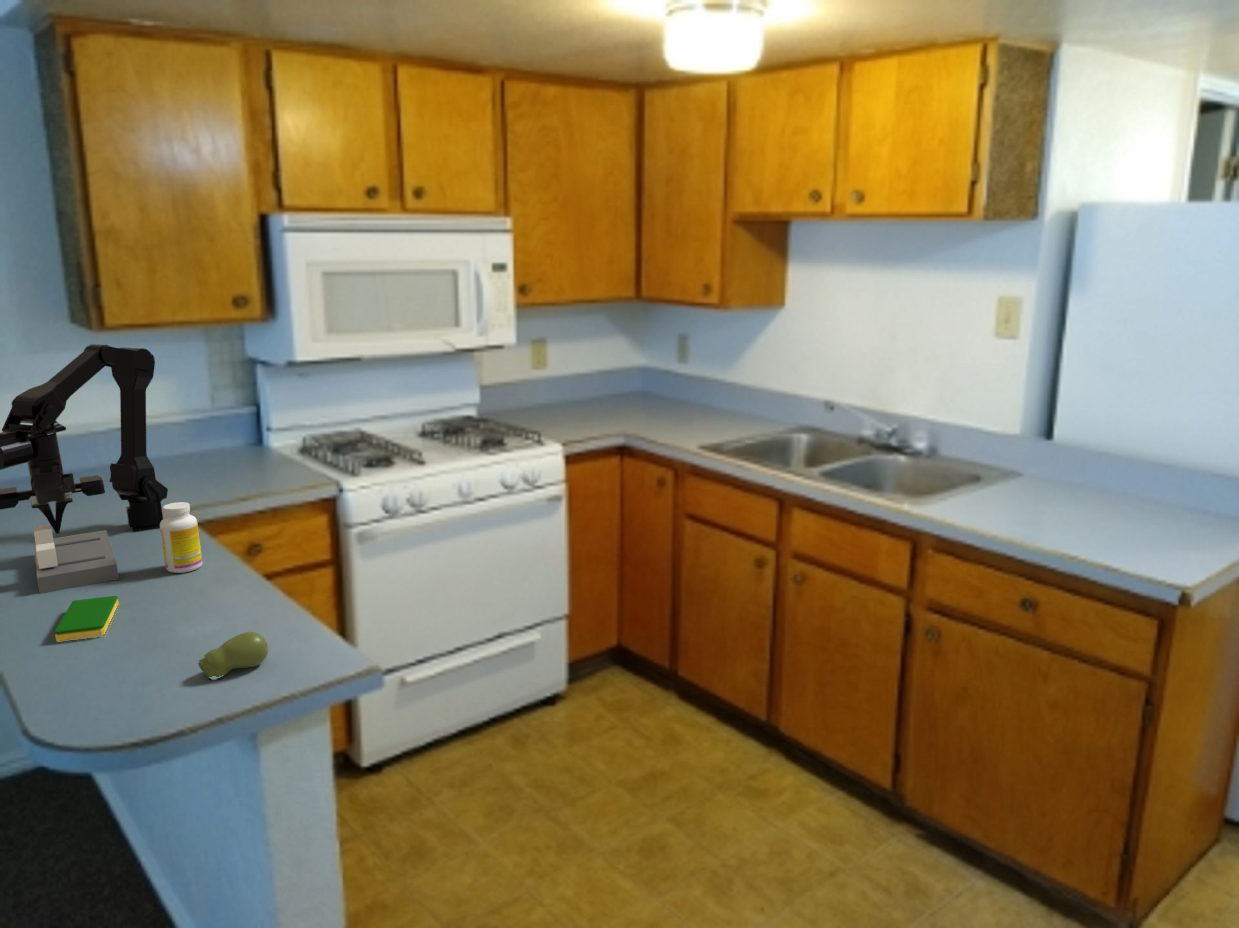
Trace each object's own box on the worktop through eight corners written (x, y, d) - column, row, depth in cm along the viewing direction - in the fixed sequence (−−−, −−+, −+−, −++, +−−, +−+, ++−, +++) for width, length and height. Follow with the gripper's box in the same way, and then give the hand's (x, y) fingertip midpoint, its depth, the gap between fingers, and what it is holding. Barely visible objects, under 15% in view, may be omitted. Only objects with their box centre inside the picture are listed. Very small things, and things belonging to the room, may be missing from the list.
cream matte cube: (53, 540, 192) (50, 524, 191) (54, 546, 189) (51, 529, 188) (36, 543, 190) (33, 526, 190) (36, 549, 187) (33, 532, 186)
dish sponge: (56, 645, 154) (53, 631, 153) (74, 612, 167) (72, 600, 166) (104, 639, 156) (102, 625, 155) (119, 607, 169) (117, 594, 168)
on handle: (56, 559, 181) (54, 542, 180) (57, 565, 178) (54, 548, 177) (38, 562, 180) (35, 545, 179) (39, 569, 176) (36, 551, 176)
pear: (267, 633, 143) (200, 662, 138) (276, 663, 145) (210, 693, 140) (256, 621, 148) (190, 648, 142) (265, 650, 150) (200, 678, 144)
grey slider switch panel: (108, 543, 201) (106, 529, 200) (118, 578, 181) (116, 563, 180) (36, 555, 194) (34, 540, 193) (39, 593, 174) (36, 577, 173)
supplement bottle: (210, 565, 188) (202, 502, 185) (182, 576, 182) (174, 512, 179) (186, 560, 191) (178, 498, 187) (158, 571, 185) (149, 508, 181)
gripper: (-14, 474, 175) (2, 554, 179) (100, 458, 184) (113, 534, 188) (-13, 461, 184) (2, 537, 188) (96, 447, 193) (108, 520, 197)
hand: (57, 533), depth 190 cm, fingers closed
